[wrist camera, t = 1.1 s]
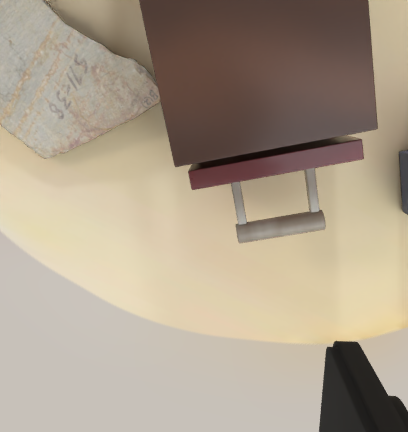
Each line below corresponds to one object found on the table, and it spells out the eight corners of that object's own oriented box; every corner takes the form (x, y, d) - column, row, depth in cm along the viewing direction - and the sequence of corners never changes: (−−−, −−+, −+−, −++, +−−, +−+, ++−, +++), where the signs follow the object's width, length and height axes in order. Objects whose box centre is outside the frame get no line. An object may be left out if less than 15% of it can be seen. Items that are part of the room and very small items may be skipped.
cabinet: (334, 122, 30) (378, 129, 22) (188, 149, 31) (174, 167, 23) (312, -94, 26) (354, -192, 18) (147, -54, 28) (111, -127, 19)
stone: (173, 89, 30) (169, 88, 28) (100, 193, 33) (90, 201, 30) (9, -40, 28) (-11, -54, 26) (-55, 82, 31) (-79, 80, 28)
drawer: (337, 207, 31) (370, 236, 24) (210, 228, 32) (206, 262, 25) (310, -51, 26) (341, -107, 19) (162, -16, 27) (140, -57, 20)
